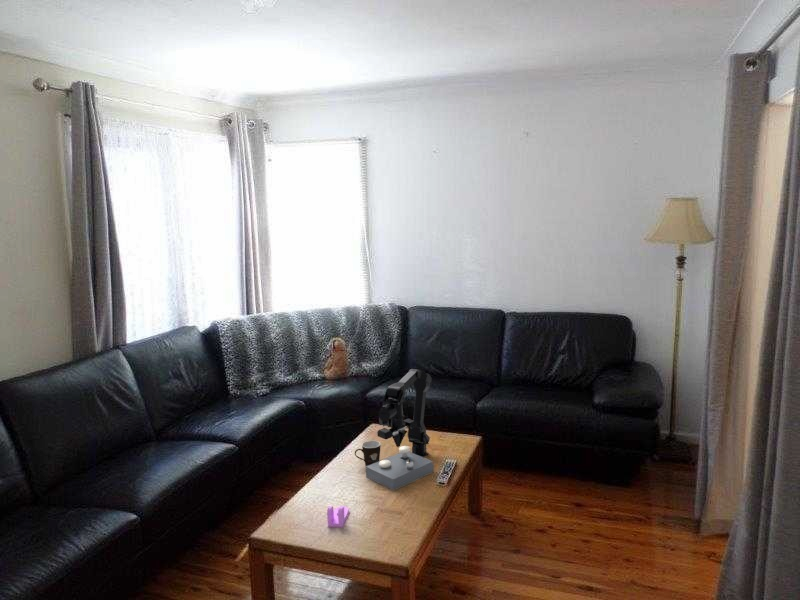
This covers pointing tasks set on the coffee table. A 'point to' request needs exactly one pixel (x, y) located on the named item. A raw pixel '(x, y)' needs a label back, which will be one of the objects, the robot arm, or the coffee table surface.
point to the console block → (399, 471)
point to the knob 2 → (404, 451)
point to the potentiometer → (409, 465)
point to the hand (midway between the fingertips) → (398, 446)
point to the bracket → (337, 516)
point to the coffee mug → (370, 452)
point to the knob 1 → (384, 464)
